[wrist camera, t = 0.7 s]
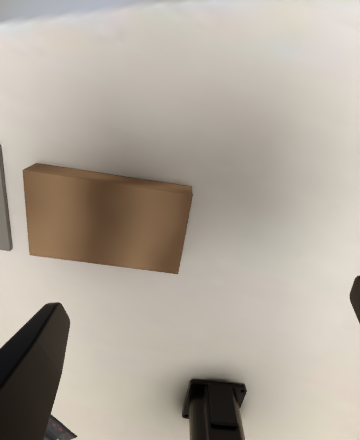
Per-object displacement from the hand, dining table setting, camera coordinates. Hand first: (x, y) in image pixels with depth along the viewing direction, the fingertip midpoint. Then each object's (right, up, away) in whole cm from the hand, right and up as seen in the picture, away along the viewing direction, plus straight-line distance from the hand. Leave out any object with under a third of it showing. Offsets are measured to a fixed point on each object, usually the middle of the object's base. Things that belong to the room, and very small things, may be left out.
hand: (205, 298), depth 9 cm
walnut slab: (-6, +3, +15) cm, 16 cm away
